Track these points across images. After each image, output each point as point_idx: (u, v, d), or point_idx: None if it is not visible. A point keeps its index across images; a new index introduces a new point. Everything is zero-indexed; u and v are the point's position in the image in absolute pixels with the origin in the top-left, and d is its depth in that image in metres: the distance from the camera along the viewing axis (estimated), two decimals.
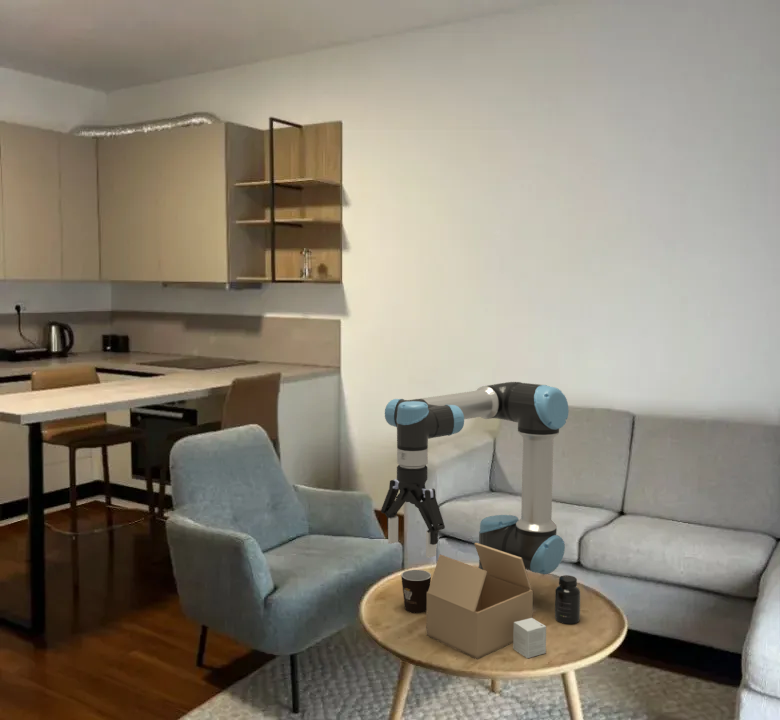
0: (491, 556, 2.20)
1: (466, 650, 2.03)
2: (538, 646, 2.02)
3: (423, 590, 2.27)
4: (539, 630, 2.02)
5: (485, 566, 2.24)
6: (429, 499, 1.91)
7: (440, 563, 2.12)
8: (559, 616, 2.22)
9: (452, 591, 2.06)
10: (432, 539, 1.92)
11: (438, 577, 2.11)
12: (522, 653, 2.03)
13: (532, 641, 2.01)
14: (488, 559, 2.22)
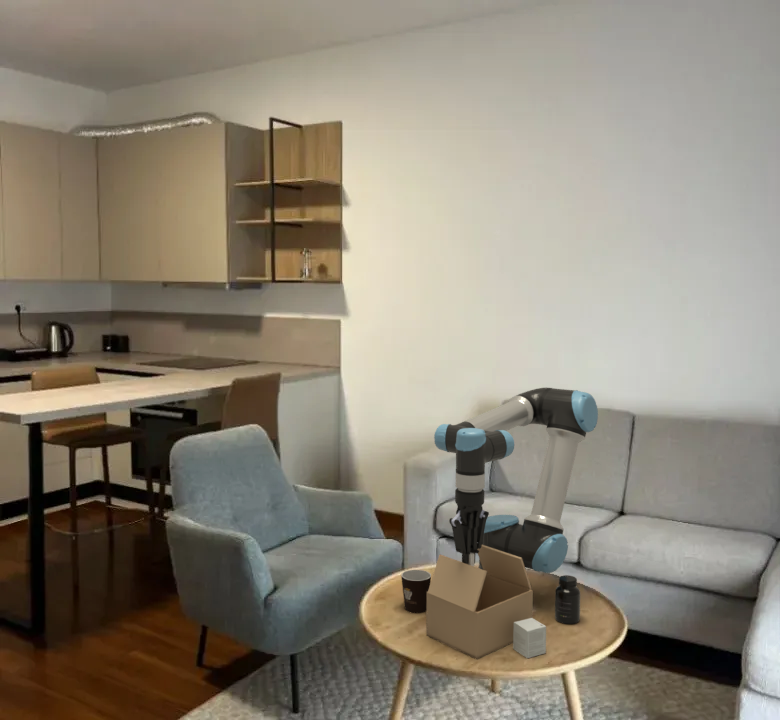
0: (491, 556, 2.20)
1: (466, 650, 2.03)
2: (538, 646, 2.02)
3: (423, 590, 2.27)
4: (539, 630, 2.02)
5: (485, 566, 2.24)
6: (452, 526, 2.05)
7: (440, 563, 2.12)
8: (559, 616, 2.22)
9: (452, 591, 2.06)
10: None
11: (438, 577, 2.11)
12: (522, 653, 2.03)
13: (532, 641, 2.01)
14: (488, 559, 2.22)
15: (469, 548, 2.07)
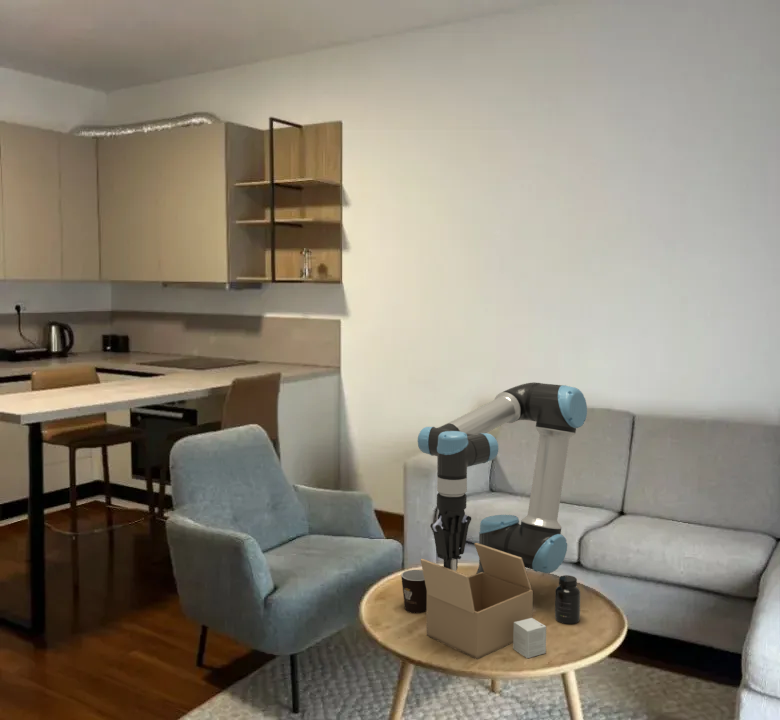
0: (491, 556, 2.20)
1: (466, 650, 2.03)
2: (538, 646, 2.02)
3: (423, 590, 2.27)
4: (539, 630, 2.02)
5: (485, 566, 2.24)
6: (433, 531, 2.01)
7: (425, 568, 2.08)
8: (559, 616, 2.22)
9: (447, 593, 2.05)
10: None
11: (429, 581, 2.09)
12: (522, 653, 2.03)
13: (532, 641, 2.01)
14: (488, 559, 2.22)
15: (451, 554, 2.02)
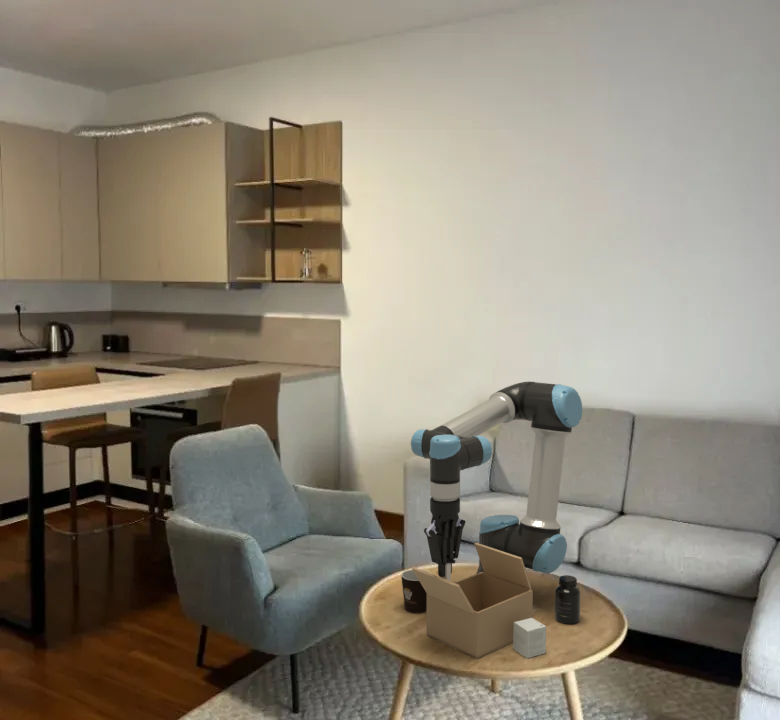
0: (491, 556, 2.20)
1: (466, 650, 2.03)
2: (538, 646, 2.02)
3: (423, 590, 2.27)
4: (539, 630, 2.02)
5: (485, 566, 2.24)
6: (427, 536, 1.99)
7: (418, 575, 2.07)
8: (559, 616, 2.22)
9: (445, 596, 2.04)
10: None
11: (426, 585, 2.08)
12: (522, 653, 2.03)
13: (532, 641, 2.01)
14: (488, 559, 2.22)
15: (445, 558, 2.01)
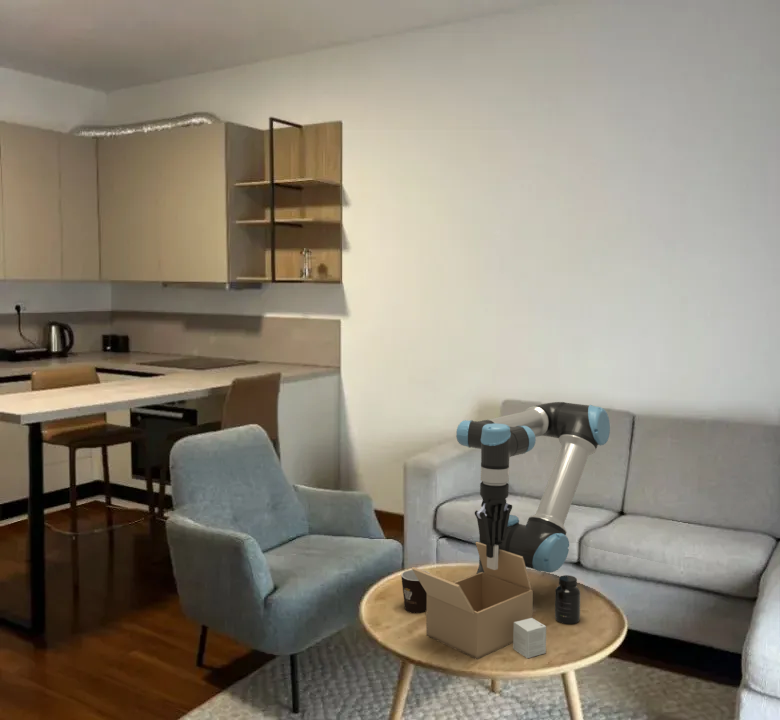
0: None
1: (466, 650, 2.03)
2: (538, 646, 2.02)
3: (423, 590, 2.27)
4: (539, 630, 2.02)
5: (485, 566, 2.24)
6: (477, 518, 2.12)
7: (418, 575, 2.07)
8: (559, 616, 2.22)
9: (445, 596, 2.04)
10: None
11: (426, 585, 2.08)
12: (522, 653, 2.03)
13: (532, 641, 2.01)
14: None
15: (493, 540, 2.13)
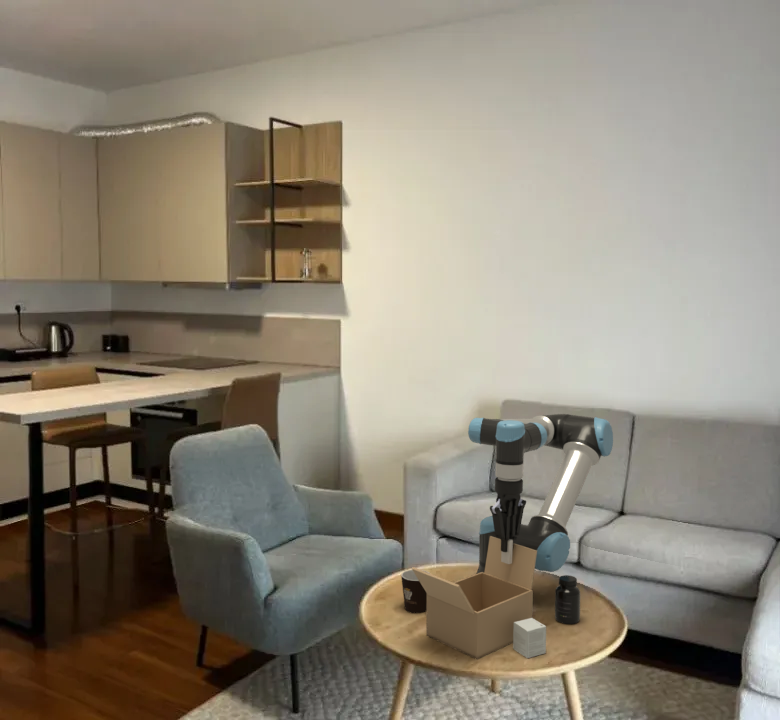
0: None
1: (466, 650, 2.03)
2: (538, 646, 2.02)
3: (423, 590, 2.27)
4: (539, 630, 2.02)
5: (489, 564, 2.25)
6: (492, 513, 2.16)
7: (418, 575, 2.07)
8: (559, 616, 2.22)
9: (445, 596, 2.04)
10: None
11: (426, 585, 2.08)
12: (522, 653, 2.03)
13: (532, 641, 2.01)
14: (497, 555, 2.24)
15: (508, 534, 2.17)
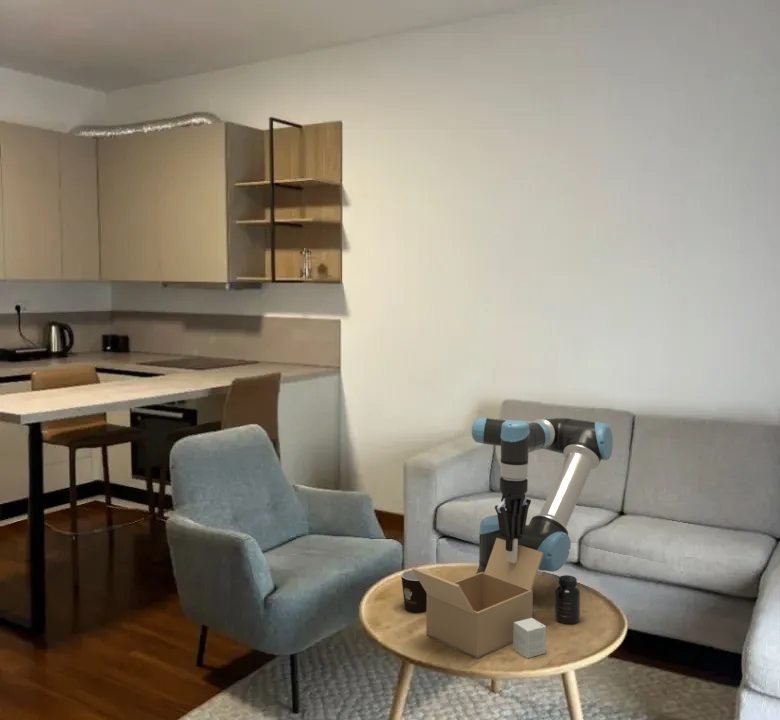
0: None
1: (466, 650, 2.03)
2: (538, 646, 2.02)
3: (423, 590, 2.27)
4: (539, 630, 2.02)
5: (491, 564, 2.26)
6: (497, 513, 2.17)
7: (418, 575, 2.07)
8: (559, 616, 2.22)
9: (445, 596, 2.04)
10: None
11: (426, 585, 2.08)
12: (522, 653, 2.03)
13: (532, 641, 2.01)
14: (501, 555, 2.25)
15: (513, 534, 2.19)
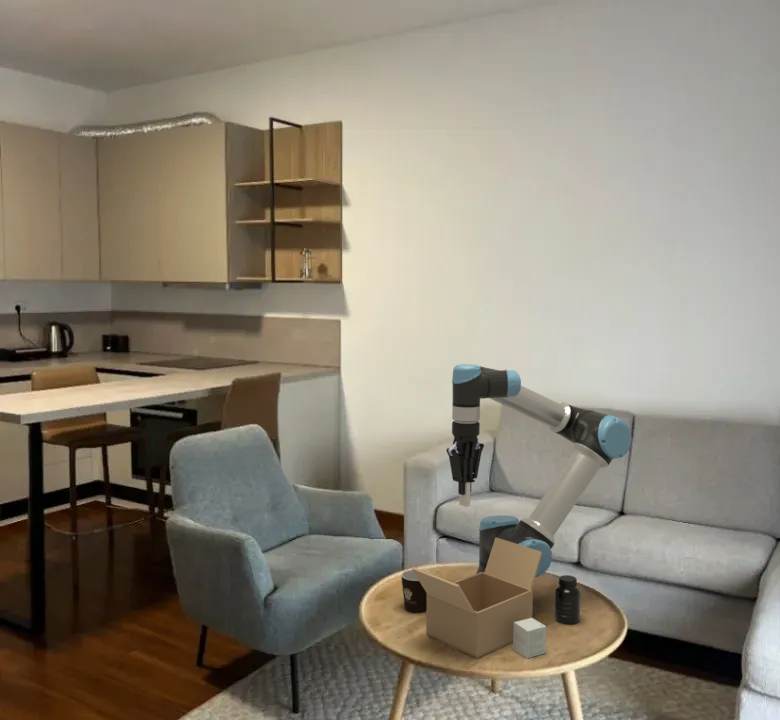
0: (506, 551, 2.24)
1: (466, 650, 2.03)
2: (538, 646, 2.02)
3: (423, 590, 2.27)
4: (539, 630, 2.02)
5: (491, 564, 2.26)
6: (449, 456, 2.17)
7: (418, 575, 2.07)
8: (559, 616, 2.22)
9: (445, 596, 2.04)
10: None
11: (426, 585, 2.08)
12: (522, 653, 2.03)
13: (532, 641, 2.01)
14: (500, 555, 2.25)
15: (465, 477, 2.19)
